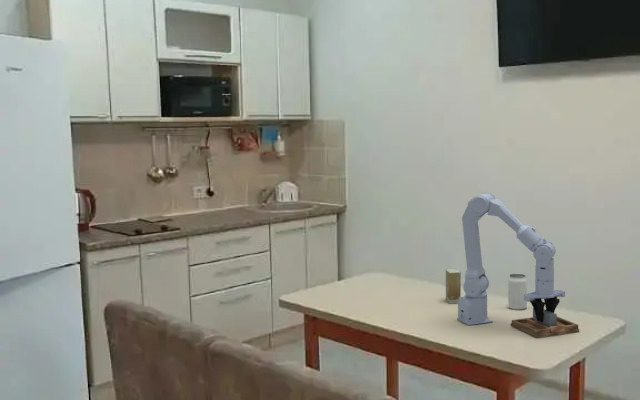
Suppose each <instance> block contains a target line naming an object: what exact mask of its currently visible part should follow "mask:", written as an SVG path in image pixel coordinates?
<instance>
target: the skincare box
mask: <svg viewBox="0 0 640 400" xmlns="http://www.w3.org/2000/svg"><path fill="white" fill-rule="evenodd" d="M461 275H462V274H461V272H460V270H458V269H457V268H450V269H449V268H447V269H445V300H446V302H447V303H448V304H449V305H450V304H451V305H452V304H458V300H459V298H461V297H462V295H461V293H462V292H461V290H462V289H461V286H462V284H461V283H462V281H461V279H462V278H461V277H462V276H461Z"/></svg>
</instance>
